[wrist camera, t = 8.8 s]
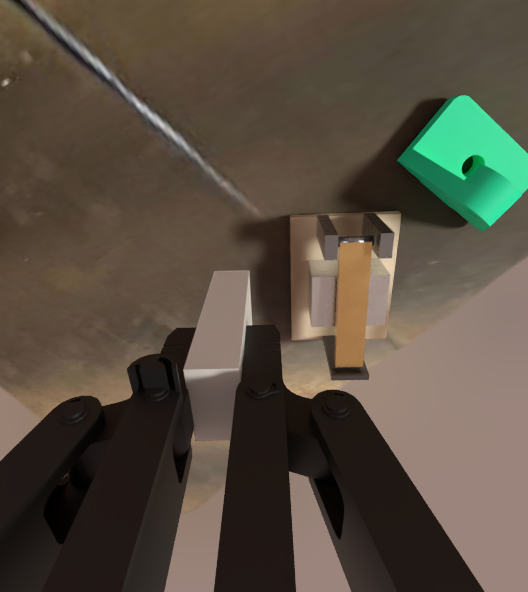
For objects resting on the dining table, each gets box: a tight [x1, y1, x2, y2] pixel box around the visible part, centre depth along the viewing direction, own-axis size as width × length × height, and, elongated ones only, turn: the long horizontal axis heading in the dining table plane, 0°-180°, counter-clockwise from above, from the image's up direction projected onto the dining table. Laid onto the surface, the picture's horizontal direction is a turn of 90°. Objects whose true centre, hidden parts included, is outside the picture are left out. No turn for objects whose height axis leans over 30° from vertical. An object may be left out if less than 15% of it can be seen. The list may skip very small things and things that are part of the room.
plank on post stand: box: [308, 213, 395, 380], centre depth 39 cm, size 8×16×8 cm, turn 3°
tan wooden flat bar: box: [334, 235, 375, 367], centre depth 37 cm, size 3×14×1 cm, turn 3°
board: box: [290, 211, 401, 340], centre depth 44 cm, size 12×16×1 cm
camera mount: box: [397, 95, 528, 232], centre depth 33 cm, size 12×8×10 cm, turn 54°
